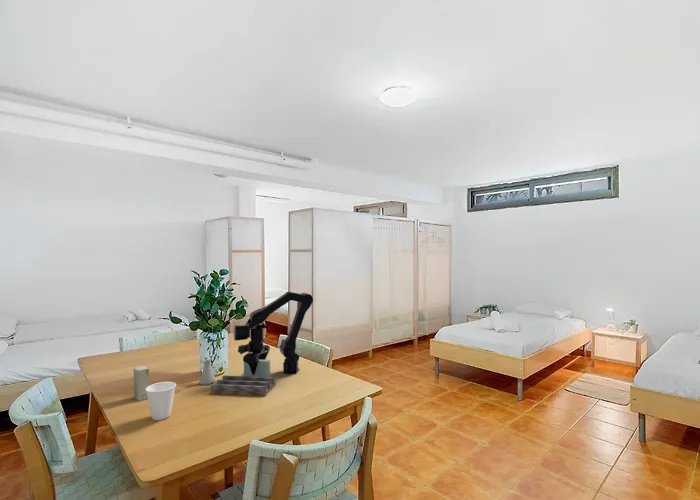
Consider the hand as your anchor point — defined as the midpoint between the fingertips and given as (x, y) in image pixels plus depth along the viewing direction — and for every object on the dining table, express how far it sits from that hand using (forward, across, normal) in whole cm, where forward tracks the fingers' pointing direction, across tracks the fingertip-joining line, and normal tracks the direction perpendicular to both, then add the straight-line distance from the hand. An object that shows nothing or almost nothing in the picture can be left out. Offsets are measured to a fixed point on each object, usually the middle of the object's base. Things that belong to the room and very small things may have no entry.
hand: (257, 371), depth 172 cm
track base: (+3, +15, 0) cm, 15 cm away
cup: (+3, +43, -19) cm, 47 cm away
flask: (+3, +9, -20) cm, 22 cm away
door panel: (+3, 0, 0) cm, 3 cm away
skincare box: (+3, +28, -38) cm, 47 cm away
